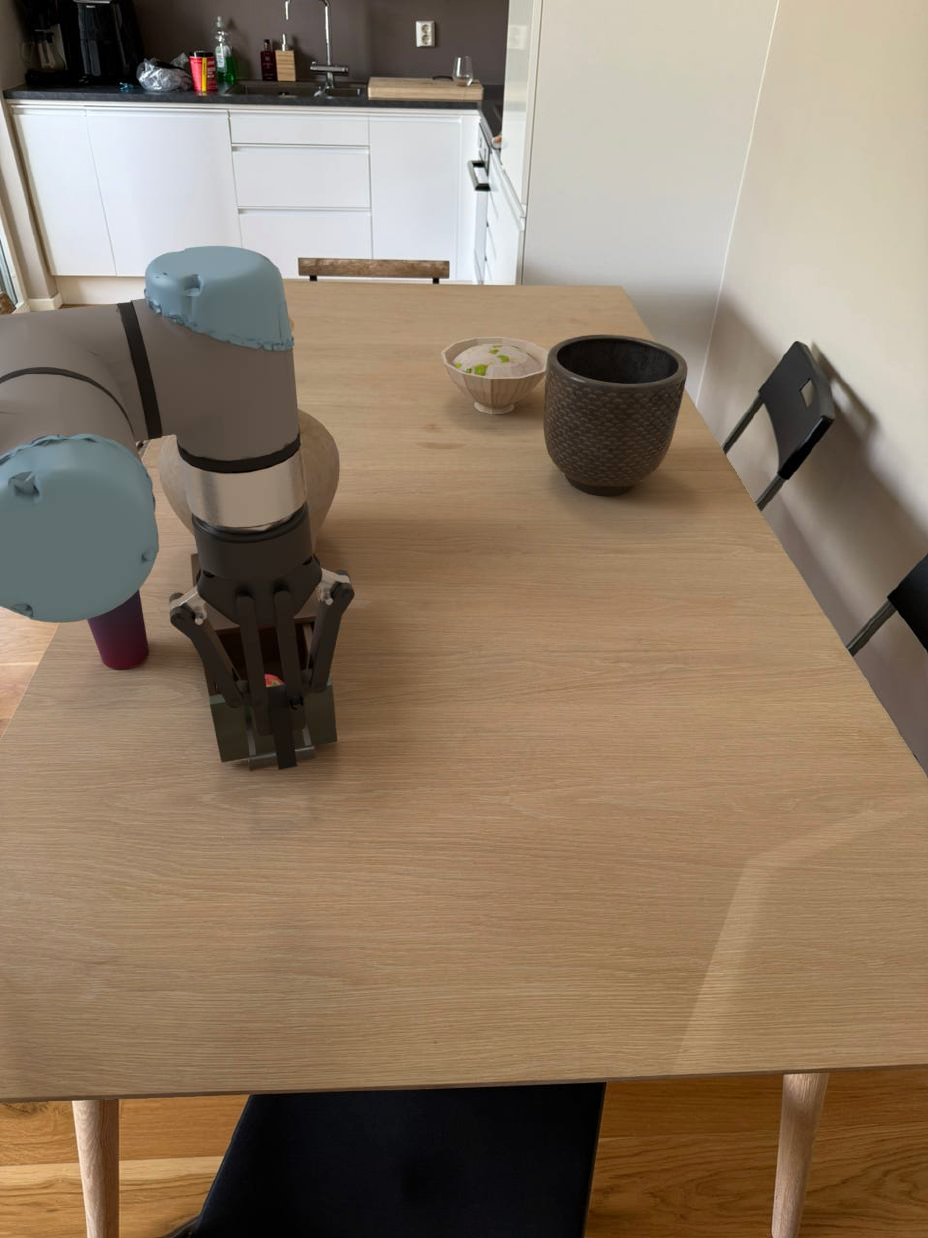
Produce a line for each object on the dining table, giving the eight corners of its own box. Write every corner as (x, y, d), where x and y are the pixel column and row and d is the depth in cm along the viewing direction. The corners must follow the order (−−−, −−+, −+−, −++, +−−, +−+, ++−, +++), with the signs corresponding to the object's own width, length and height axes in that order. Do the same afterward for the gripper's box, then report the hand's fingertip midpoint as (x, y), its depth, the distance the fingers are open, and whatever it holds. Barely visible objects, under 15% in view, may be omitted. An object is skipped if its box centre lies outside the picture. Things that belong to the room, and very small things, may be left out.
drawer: (348, 787, 85) (344, 729, 80) (226, 811, 82) (213, 752, 77) (317, 657, 100) (312, 602, 95) (212, 674, 97) (202, 617, 92)
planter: (577, 523, 126) (592, 396, 114) (514, 461, 140) (522, 343, 128) (691, 497, 133) (717, 374, 121) (621, 441, 147) (638, 326, 135)
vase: (249, 493, 130) (221, 283, 111) (376, 535, 122) (368, 316, 103) (140, 566, 114) (86, 336, 96) (277, 619, 106) (246, 380, 88)
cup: (131, 629, 104) (102, 519, 95) (170, 651, 101) (144, 540, 92) (81, 659, 100) (46, 546, 91) (120, 683, 97) (88, 569, 88)
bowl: (431, 424, 150) (431, 367, 143) (448, 379, 165) (449, 326, 159) (545, 434, 148) (550, 376, 142) (552, 388, 163) (557, 334, 157)
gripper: (339, 466, 62) (356, 711, 77) (144, 488, 59) (201, 738, 74) (359, 521, 56) (374, 774, 71) (144, 548, 53) (206, 807, 68)
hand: (285, 756), depth 72 cm, fingers closed
